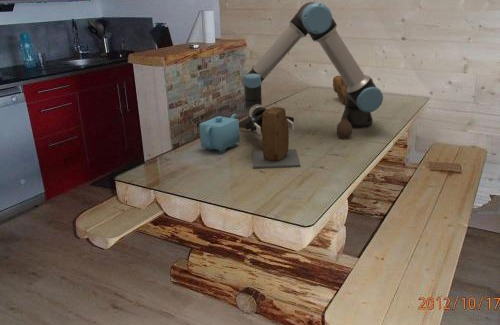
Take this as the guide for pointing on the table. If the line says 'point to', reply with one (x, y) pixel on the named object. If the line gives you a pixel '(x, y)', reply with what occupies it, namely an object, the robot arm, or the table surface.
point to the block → (275, 134)
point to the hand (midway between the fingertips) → (276, 128)
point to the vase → (344, 129)
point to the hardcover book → (243, 126)
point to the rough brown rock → (340, 88)
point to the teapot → (219, 133)
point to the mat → (287, 161)
